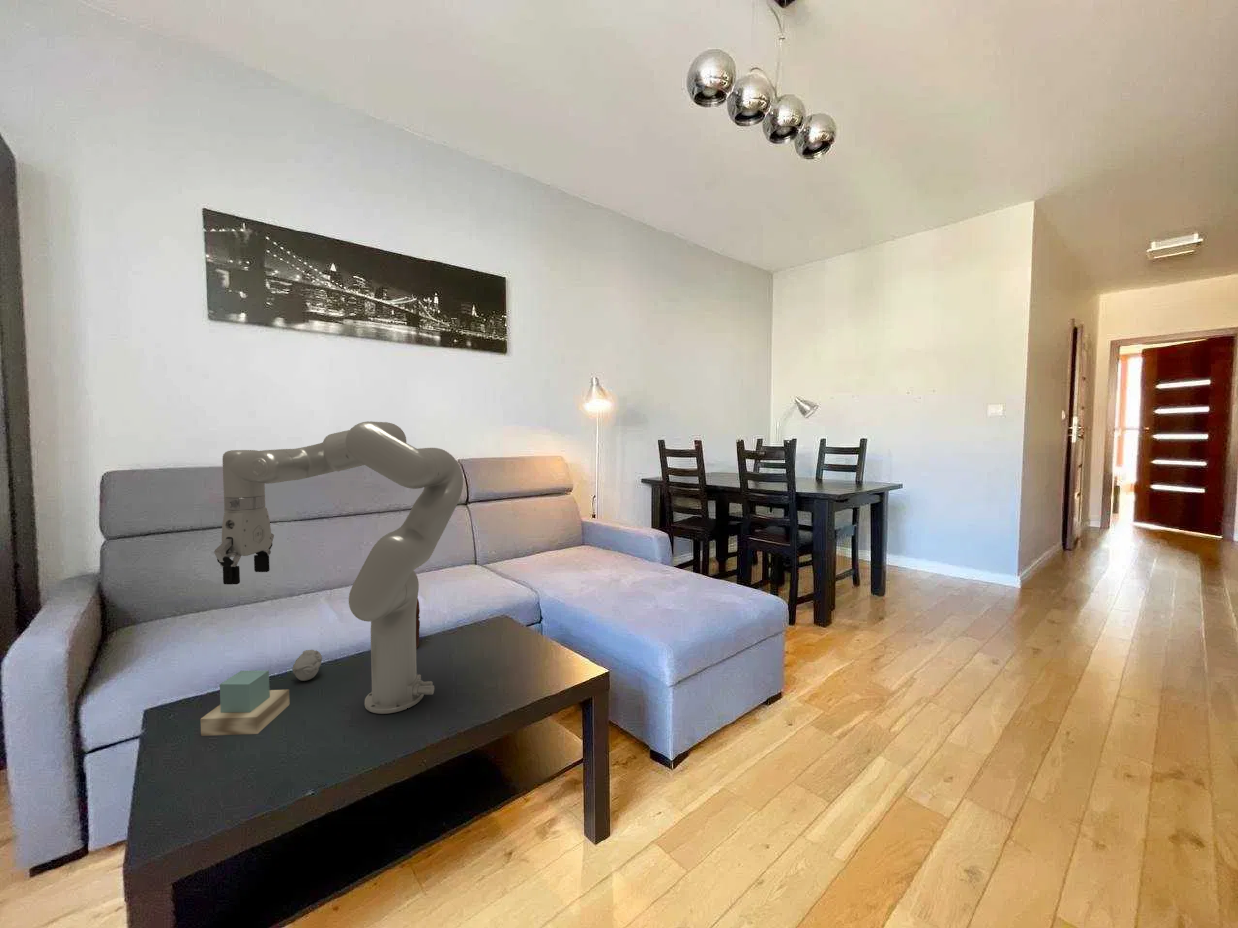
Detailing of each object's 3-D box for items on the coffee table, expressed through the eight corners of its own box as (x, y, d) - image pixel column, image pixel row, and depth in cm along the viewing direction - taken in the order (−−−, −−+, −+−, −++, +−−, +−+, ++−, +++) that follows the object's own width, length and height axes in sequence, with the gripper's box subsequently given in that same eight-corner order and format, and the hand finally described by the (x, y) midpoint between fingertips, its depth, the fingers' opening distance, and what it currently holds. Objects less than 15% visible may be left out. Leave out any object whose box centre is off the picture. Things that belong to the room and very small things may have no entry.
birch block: (289, 706, 112) (289, 689, 112) (257, 735, 101) (256, 717, 101) (239, 707, 112) (238, 690, 111) (201, 737, 101) (200, 718, 100)
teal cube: (269, 696, 109) (268, 670, 108) (250, 712, 103) (249, 684, 102) (242, 697, 109) (241, 670, 108) (220, 712, 103) (219, 684, 102)
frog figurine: (328, 672, 127) (327, 646, 127) (309, 686, 120) (308, 658, 120) (306, 671, 128) (305, 645, 127) (285, 685, 121) (284, 657, 120)
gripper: (233, 509, 104) (236, 589, 105) (286, 499, 121) (287, 567, 122) (197, 509, 104) (200, 589, 105) (254, 498, 121) (257, 567, 122)
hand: (247, 577), depth 114 cm, fingers open, 9 cm apart
